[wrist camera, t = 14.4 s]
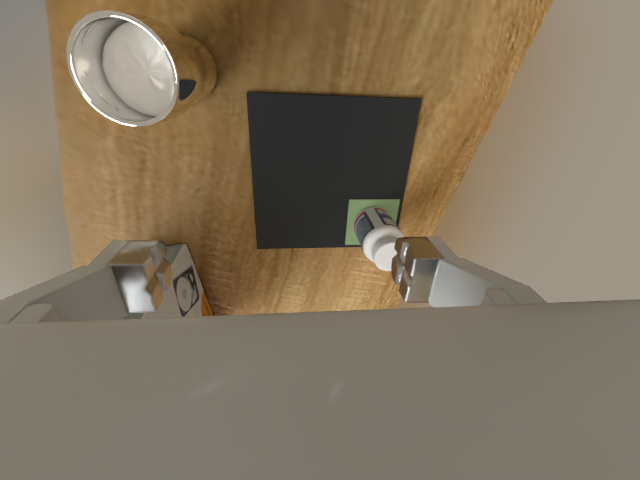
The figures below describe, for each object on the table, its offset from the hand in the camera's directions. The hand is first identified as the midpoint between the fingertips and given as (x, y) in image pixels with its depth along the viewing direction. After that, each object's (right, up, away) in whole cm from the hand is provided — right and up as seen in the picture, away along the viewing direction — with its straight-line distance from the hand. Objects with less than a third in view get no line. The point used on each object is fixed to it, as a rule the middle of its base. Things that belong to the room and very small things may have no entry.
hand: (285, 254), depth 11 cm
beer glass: (-13, +19, +22) cm, 31 cm away
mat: (+3, +8, +29) cm, 31 cm away
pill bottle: (+8, +3, +33) cm, 34 cm away
